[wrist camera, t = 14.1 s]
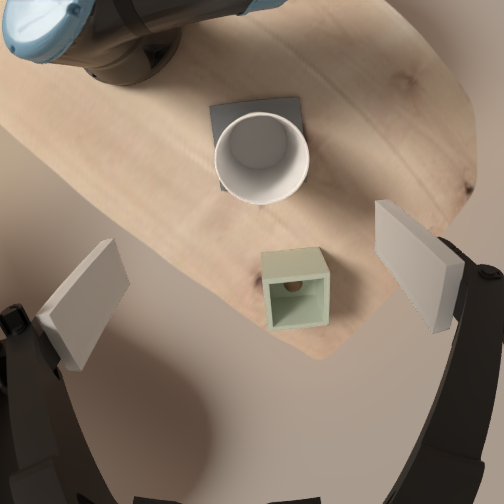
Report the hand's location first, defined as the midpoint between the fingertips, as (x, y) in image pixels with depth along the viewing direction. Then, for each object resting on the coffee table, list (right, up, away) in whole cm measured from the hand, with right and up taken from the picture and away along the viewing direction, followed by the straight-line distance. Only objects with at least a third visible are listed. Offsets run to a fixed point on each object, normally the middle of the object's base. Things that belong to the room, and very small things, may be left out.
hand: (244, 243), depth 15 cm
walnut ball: (+7, -4, +34) cm, 35 cm away
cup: (+1, +14, +26) cm, 29 cm away
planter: (+7, -4, +35) cm, 36 cm away
